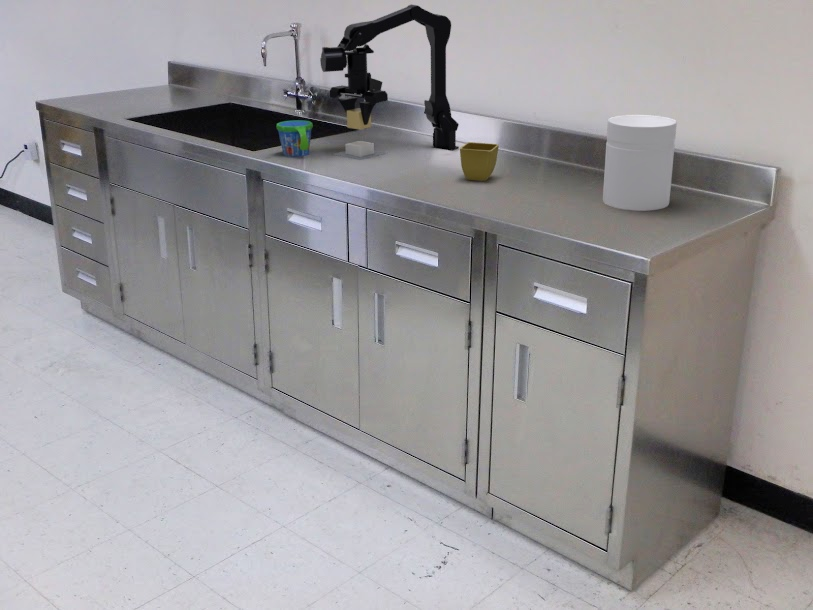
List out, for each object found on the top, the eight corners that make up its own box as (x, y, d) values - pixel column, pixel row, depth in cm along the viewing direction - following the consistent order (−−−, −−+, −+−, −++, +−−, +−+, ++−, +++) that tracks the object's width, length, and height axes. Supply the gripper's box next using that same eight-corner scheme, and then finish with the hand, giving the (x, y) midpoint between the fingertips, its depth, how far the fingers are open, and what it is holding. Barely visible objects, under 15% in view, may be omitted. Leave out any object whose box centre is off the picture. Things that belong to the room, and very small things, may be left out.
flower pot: (498, 176, 259) (499, 143, 255) (490, 184, 251) (491, 150, 248) (467, 174, 261) (468, 141, 258) (458, 181, 254) (459, 148, 250)
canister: (628, 213, 223) (634, 129, 216) (589, 197, 237) (594, 118, 230) (683, 205, 229) (691, 123, 222) (642, 190, 243) (648, 112, 235)
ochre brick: (371, 126, 280) (370, 109, 278) (359, 129, 276) (358, 112, 274) (359, 124, 283) (358, 108, 281) (347, 127, 279) (346, 110, 278)
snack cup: (273, 153, 289) (271, 120, 285) (306, 150, 292) (305, 117, 289) (285, 164, 275) (282, 129, 272) (320, 160, 279) (318, 126, 275)
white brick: (374, 153, 283) (373, 143, 282) (360, 156, 279) (359, 146, 277) (359, 150, 286) (359, 140, 285) (345, 153, 282) (345, 143, 281)
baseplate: (388, 156, 283) (388, 152, 283) (360, 163, 275) (360, 159, 275) (359, 150, 291) (359, 147, 290) (331, 157, 282) (331, 154, 282)
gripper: (400, 69, 273) (401, 123, 279) (353, 64, 285) (355, 116, 291) (373, 73, 266) (375, 129, 271) (327, 68, 277) (329, 121, 283)
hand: (359, 123), depth 279 cm, fingers closed on ochre brick, 5 cm apart
